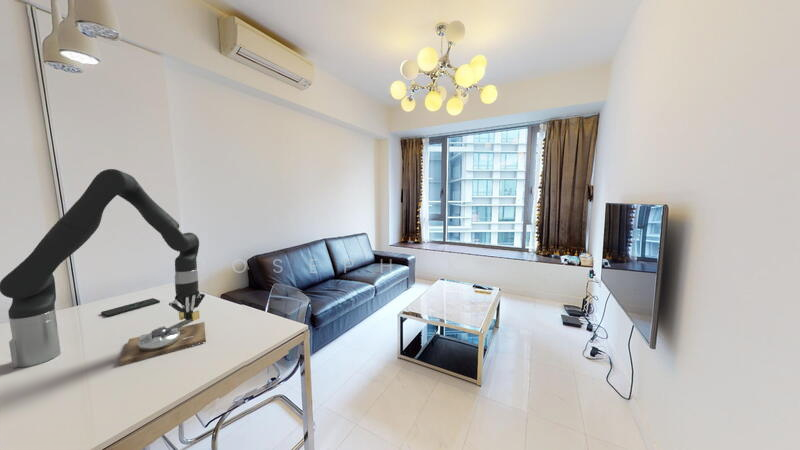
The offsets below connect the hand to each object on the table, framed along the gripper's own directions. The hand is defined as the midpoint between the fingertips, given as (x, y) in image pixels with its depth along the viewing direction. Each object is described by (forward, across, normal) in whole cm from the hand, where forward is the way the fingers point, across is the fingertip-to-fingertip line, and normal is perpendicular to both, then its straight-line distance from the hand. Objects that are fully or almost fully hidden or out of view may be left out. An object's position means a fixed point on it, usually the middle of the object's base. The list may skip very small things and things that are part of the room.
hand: (188, 319), depth 110 cm
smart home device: (+8, -4, -54) cm, 55 cm away
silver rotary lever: (+4, +7, 0) cm, 8 cm away
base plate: (+6, +8, 0) cm, 10 cm away
